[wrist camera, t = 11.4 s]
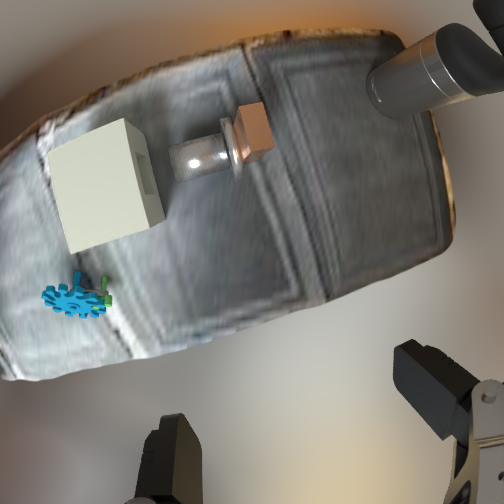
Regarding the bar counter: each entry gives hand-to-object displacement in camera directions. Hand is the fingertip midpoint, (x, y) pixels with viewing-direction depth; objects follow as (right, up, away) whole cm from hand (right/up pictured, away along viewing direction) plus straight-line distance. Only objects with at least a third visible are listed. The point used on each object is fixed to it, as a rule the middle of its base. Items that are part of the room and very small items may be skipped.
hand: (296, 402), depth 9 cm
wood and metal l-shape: (-6, +17, +25) cm, 31 cm away
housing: (-19, +14, +26) cm, 35 cm away
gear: (-26, -1, +28) cm, 38 cm away
